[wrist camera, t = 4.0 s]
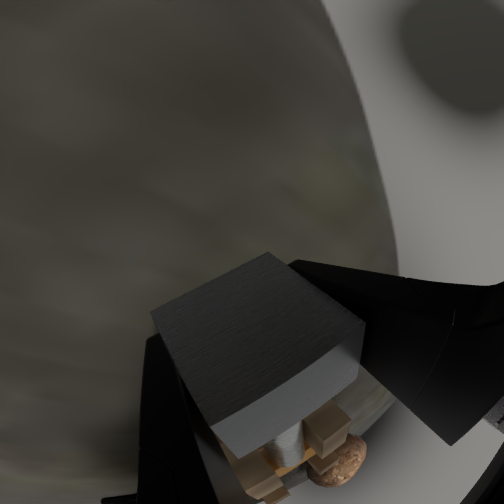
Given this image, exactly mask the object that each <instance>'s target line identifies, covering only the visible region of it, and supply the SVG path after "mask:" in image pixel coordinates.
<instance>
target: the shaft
mask: <svg viewBox="0 0 504 504" xmlns="http://www.w3.org/2000/svg"><path fill="white" fill-rule="evenodd" d="M150 314H151V316H152V318H153V320H154V322H155V325H156V327H157V329H158V331H159V333H160V335H161V336H162V338H163V340H164V342H165V345H166V347H167V349H168V351H169V353H170V355H171V357H172V359H173V361H174V362H175V365H176V367H177V369H178V371H179V374H180V376H181V377H182V379H183V381H184V383H185V385H186V387H187V389H188V390H189V392H190V394H191V396H192V398H193V399H194V401H195V403H196V405H197V406H198V408H199V410H200V412H201V413H202V415H203V417H204V418H205V420H206V422H207V423H208V425H209V427H210V428H211V429H212V430H213V431H214V433H215V434H216V435H217V436H218V437H219V438H220V439H221V441H222V442H223V443H224V444H225V445H226V446H227V447H228V448H229V449H230V450H231V451H232V453H233V454H234V455H235V456H236V457H237V458H238V459H240V458H242V457H243V456H245V455H247V454H249V453H251V452H252V451H254V450H256V449H257V448H259V447H261V446H262V445H263V447H264V449H265V450H266V452H267V454H268V456H269V457H270V459H271V461H272V462H273V463H274V464H276V465H277V466H280V467H292V466H295V465H297V464H298V463H300V462H301V460H302V459H303V458H304V455H305V445H304V436H303V427H302V420H303V419H304V418H305V417H307V416H308V415H310V414H311V413H312V412H314V411H315V410H317V409H318V408H319V407H321V406H322V405H323V404H325V403H326V402H327V401H329V400H330V399H331V398H333V397H334V396H335V395H336V394H338V393H339V392H340V391H341V390H343V389H344V388H345V387H346V386H348V385H349V384H350V383H351V382H353V381H354V380H355V379H356V378H357V374H358V369H359V363H360V358H361V352H362V346H363V340H364V333H365V326H366V322H364V321H363V320H362V319H360V318H359V317H357V316H356V315H355V314H353V313H352V312H351V311H349V310H348V309H347V308H345V307H344V306H342V305H341V304H340V303H338V302H337V301H336V300H334V299H333V298H331V297H330V296H329V295H327V294H326V293H325V292H323V291H322V290H320V289H319V288H318V287H316V286H315V285H314V284H312V283H311V282H309V281H308V280H307V279H305V278H304V277H302V276H301V275H300V274H298V273H297V272H296V271H294V270H293V269H291V268H290V267H289V266H287V265H286V264H285V263H283V262H282V261H280V260H279V259H278V258H276V257H275V256H273V255H272V254H271V253H269V252H266V253H264V254H262V255H261V256H259V257H257V258H255V259H253V260H251V261H249V262H247V263H245V264H243V265H241V266H239V267H237V268H235V269H233V270H231V271H229V272H227V273H225V274H223V275H222V276H220V277H218V278H216V279H214V280H212V281H210V282H208V283H206V284H204V285H202V286H200V287H198V288H196V289H194V290H192V291H190V292H188V293H186V294H184V295H182V296H180V297H178V298H176V299H174V300H172V301H170V302H168V303H167V304H165V305H163V306H161V307H159V308H157V309H155V310H153V311H151V312H150Z"/></svg>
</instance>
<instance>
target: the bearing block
mask: <svg viewBox="0 0 504 504" xmlns="http://www.w3.org/2000/svg"><path fill="white" fill-rule="evenodd" d="M351 420H352V419H351V418H350V417H349V416H348V415H346V414H345V413H344V412H343V411H342V410H341V409H340V408H339V407H338V406H337V405H336V404H335V403H334V402H333V401H332V400H331V399H330V400H329V401H327V402H326V403H325V404H323V405H322V406H321V407H319V408H318V409H317V410H315V411H314V412H312V413H311V414H310V415H308V416H307V417H305V418H304V419H303V420H302V427H303V436H304V440H305V441H306V443H307V444H308V445H309V446H310V447H311V448H312V449H313V450H314V451H315V452H316V454H315V455H313V456H312V457H311V458H309V459H308V460H307V462H308V463H309V464H310V465H311V466H312V467H313V468H314V469H315V470H316V471H317V473H318V474H319V475H321V474H323V473H324V472H326V471H327V470H328V469H330V468H331V467H332V466H334V465H335V464H336V463H338V462H339V459H340V457H339V456H338V455H337V454H336V453H335V452H334V450H335V449H337V448H338V447H339V446H340V445H342V444H343V443H344V442H345V440H346V437H347V434H348V431H349V427H350V424H351ZM215 435H216V434H215ZM216 437H217V440H218V442H219V444H220V446H221V448H222V450H223V451H224V453H225V455H226V457H227V459H228V461H229V463H230V465H231V467H232V469H233V471H234V472H235V474H236V476H237V478H238V480H239V481H240V483H241V485H242V487H243V489H244V490H245V492H246V494H248V495H250V496H252V497H253V498H255V499H257V500H258V499H260V498H262V499H263V500H264V501H265V502H266V503H267V504H276V503H278V502H280V501H281V500H283V499H285V498H286V497H288V496H290V493H289V492H288V491H287V490H286V488H285V487H284V486H283V485H284V484H283V483H282V481H281V480H280V478H279V477H278V475H277V474H276V472H275V471H274V470H273V469H272V467H271V466H270V465H269V463H268V462H267V461H266V460H267V459H269V458H270V457H269V456H268V454H267V452H266V450H265V449H264V447H263V445H262V446H261V447H259V448H257V449H256V450H254V451H252V452H251V453H249V454H247V455H245V456H243V457H242V458H240V459H238V458H237V457H236V456H235V455H234V454H233V453H232V451H231V450H230V449H229V448H228V447H227V446H226V445H225V444H224V443H223V442H222V441H221V439H220V438H219V437H218V436H217V435H216Z"/></svg>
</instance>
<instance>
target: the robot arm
mask: <svg viewBox="0 0 504 504" xmlns="http://www.w3.org/2000/svg"><path fill="white" fill-rule="evenodd" d="M287 266H289V267H290V268H291V269H293V270H294V271H296V272H297V273H298V274H300V275H301V276H302V277H304V278H305V279H307V280H308V281H309V282H311V283H312V284H314V285H315V286H316V287H318V288H319V289H320V290H322V291H323V292H325V293H326V294H327V295H329V296H330V297H331V298H333V299H334V300H336V301H337V302H338V303H340V304H341V305H342V306H344V307H345V308H347V309H348V310H349V311H351V312H352V313H353V314H355V315H356V316H357V317H359V318H360V319H362V320H363V321H364V322H366V326H365V333H364V340H363V346H362V352H361V358H360V363H359V364H361V365H362V366H363V367H364V368H365V369H366V370H367V371H368V372H369V373H370V374H371V375H372V376H374V377H375V378H376V379H377V380H378V381H379V382H380V383H381V384H382V385H383V386H384V387H386V388H387V389H388V390H389V391H390V392H391V393H392V394H393V395H394V396H395V397H396V398H398V399H399V400H400V401H401V402H402V403H403V404H404V405H405V406H406V407H407V408H409V409H410V411H412V412H413V413H414V414H415V415H416V416H417V417H418V418H419V419H420V420H421V421H423V422H424V423H425V424H426V425H427V426H428V427H429V428H430V429H432V430H433V431H434V432H435V433H436V434H437V435H438V436H439V437H440V438H442V440H444V441H445V442H446V443H447V444H448V445H450V446H452V445H453V444H454V443H456V442H457V441H458V440H459V439H460V438H461V437H463V436H464V435H465V434H466V433H467V432H468V431H469V430H470V429H471V428H472V427H473V426H475V425H476V424H477V423H478V422H479V421H480V420H481V419H483V420H485V421H486V422H487V423H489V424H490V425H491V426H493V427H494V428H495V429H498V430H500V431H501V432H502V433H503V434H504V281H503V282H501V283H498V284H496V285H490V286H478V285H466V284H453V283H443V282H433V281H426V280H419V279H413V278H405V277H401V276H395V275H389V274H383V273H377V272H371V271H365V270H359V269H353V268H347V267H341V266H335V265H329V264H323V263H317V262H311V261H305V260H295V261H293V262H291V263H289V264H288V265H287ZM139 448H140V449H139V450H138V486H137V495H136V496H129V497H122V498H113V499H105V500H101V504H252V502H251V501H250V499H249V497H248V495H247V494H246V492H245V490H244V489H243V487H242V485H241V483H240V481H239V480H238V478H237V476H236V474H235V472H234V471H233V469H232V467H231V465H230V463H229V461H228V459H227V457H226V455H225V453H224V451H223V450H222V448H221V446H220V444H219V442H218V440H217V437H216V435H215V433H214V431H213V430H212V429H211V428H210V427H209V425H208V423H207V422H206V420H205V418H204V417H203V415H202V413H201V412H200V410H199V408H198V406H197V405H196V403H195V401H194V399H193V398H192V396H191V394H190V392H189V390H188V389H187V387H186V385H185V383H184V381H183V379H182V377H181V376H180V374H179V371H178V369H177V367H176V365H175V362H174V361H173V359H172V357H171V355H170V353H169V351H168V349H167V347H166V345H165V342H164V340H163V338H162V336H161V335H160V333H157V334H155V335H153V336H151V337H149V338H148V339H147V340H146V347H145V356H144V366H143V377H142V389H141V403H140V421H139ZM460 504H504V442H503V444H502V445H501V447H500V449H499V450H498V452H497V453H496V455H495V457H494V458H493V460H492V461H491V463H490V464H489V466H488V467H487V469H486V470H485V472H484V473H483V474H482V476H481V477H480V479H479V480H478V481H477V483H476V484H475V485H474V487H473V488H472V489H471V491H470V492H469V493H468V494H467V496H466V497H465V498H464V499H463V500H462V502H461V503H460Z"/></svg>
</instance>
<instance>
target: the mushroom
mask: <svg viewBox="0 0 504 504" xmlns="http://www.w3.org/2000/svg"><path fill="white" fill-rule="evenodd" d="M366 448H367V447H366V443H365V442H364V441H363V440H362V439H361V438H360V437H359V436H356V435H352V434H349V433H348V434H347V437H346V440H345V442H344V443H343V444H342V445H340V446H339V447H338V448H337V449H335V450H334V452H335V453H336V454H337V455H338V456H339V457H340V459H339V462H338V463H336V464H335V465H334V466H332V467H331V468H330V469H328V470H327V471H326V472H324V473H323V474H321V475H319V474H318V473H317V471H316V470H315V469H314V468H313V467H312V466H311V465H310V464H309V463H308V462H307V464H306V471H307V476H308V478H309V479H310V480H311V481H313V482H314V483H315V484H317V485H319V486H324V487H336V486H339V485H341V484H343V483H345V482H347V481H348V480H349V479H350V478H351V477H353V475H354V474H355V473H356V471H357V470H358V469H359V467H360V466H361V464H362V462H363V460H364V459H365V457H366Z"/></svg>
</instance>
